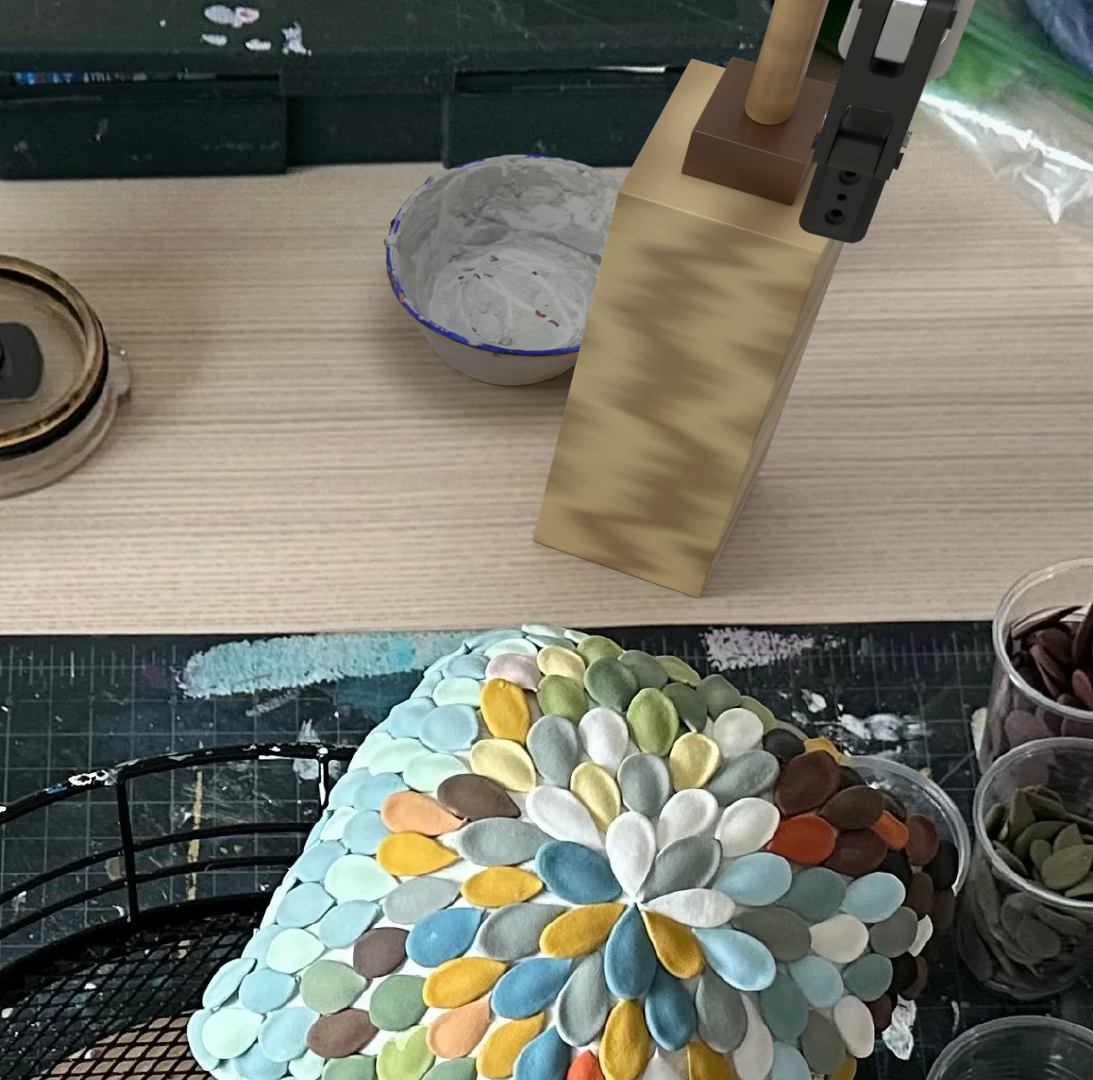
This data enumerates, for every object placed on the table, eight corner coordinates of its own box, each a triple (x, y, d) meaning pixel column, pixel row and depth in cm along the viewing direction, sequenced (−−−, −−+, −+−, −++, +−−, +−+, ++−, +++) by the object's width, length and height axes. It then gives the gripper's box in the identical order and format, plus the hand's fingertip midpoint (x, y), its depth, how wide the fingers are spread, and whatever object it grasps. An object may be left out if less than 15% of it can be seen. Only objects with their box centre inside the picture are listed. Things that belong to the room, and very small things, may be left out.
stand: (759, 474, 106) (891, 114, 88) (699, 599, 103) (822, 253, 85) (595, 420, 108) (691, 57, 90) (532, 541, 105) (618, 191, 87)
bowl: (407, 444, 108) (419, 368, 104) (350, 250, 114) (360, 171, 110) (677, 403, 108) (700, 326, 104) (607, 211, 114) (626, 130, 110)
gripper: (1119, -151, 59) (922, 321, 74) (1233, -464, 65) (1028, 34, 79) (832, -211, 61) (694, 261, 76) (965, -511, 66) (813, -15, 81)
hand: (865, 145), depth 77 cm, fingers open, 8 cm apart
